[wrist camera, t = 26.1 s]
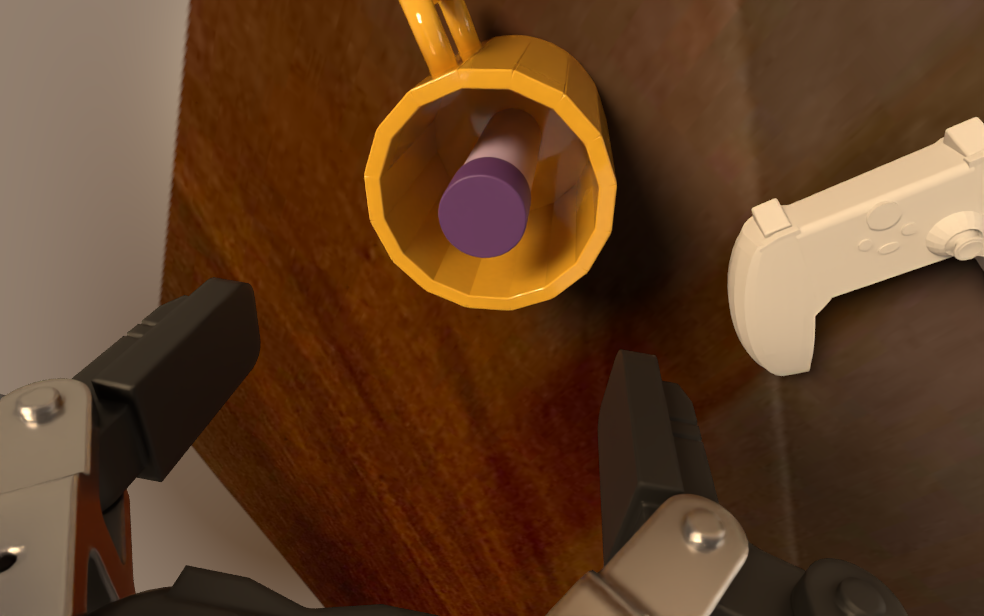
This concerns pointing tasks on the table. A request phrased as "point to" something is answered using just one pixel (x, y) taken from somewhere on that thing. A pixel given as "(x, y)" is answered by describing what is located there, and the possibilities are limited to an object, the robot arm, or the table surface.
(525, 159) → the glue stick
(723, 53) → the table surface
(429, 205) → the mug
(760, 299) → the game controller
